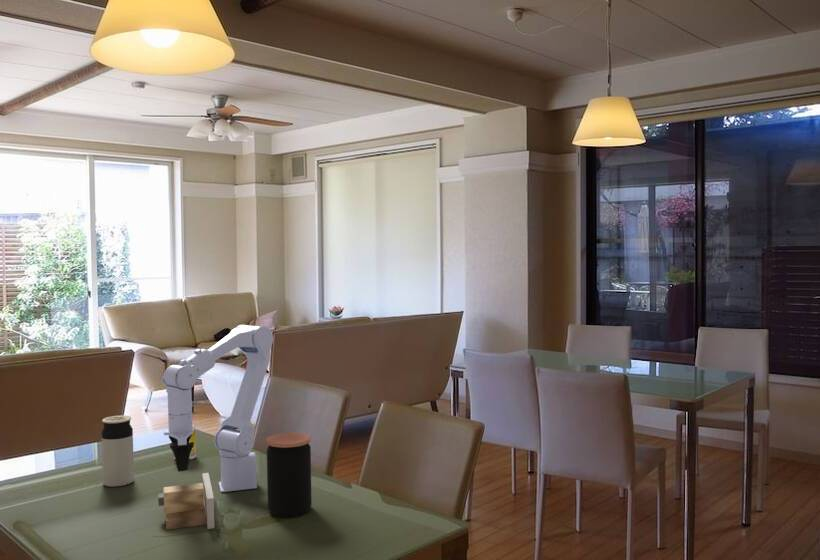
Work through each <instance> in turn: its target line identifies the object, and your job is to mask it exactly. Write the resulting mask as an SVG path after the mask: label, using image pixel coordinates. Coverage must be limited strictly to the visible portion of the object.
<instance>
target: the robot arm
mask: <svg viewBox="0 0 820 560" xmlns="http://www.w3.org/2000/svg"><path fill="white" fill-rule="evenodd" d="M274 340H275V339H274V335H273V334H272V331H271V329H270V328H269V327H267V326H266V325H249V324H243V323H242V324H239V325H237V326H236V327H234V328H232V329H231V330H230V332H229V333H228V334H227V335H225V336H224V337H223V338H222V339H220V340H219V341H217V342H216V343H215V344H214V345H212V346H211V347H210V348H209V349H205V348H201V349H200V348H196V349H195V350H194V351H193V353H192V354H191V355H190V356H188V357H186V358H185V359H181V360H180V361H179V363H177V364H171V365H169V366H168V367H167V368H166V369H165V370H164V372H163V376H161V382H162V384H163V385H164V386H165V388H166V393H167V414H168V416H167V417H168V418H167V419H168V430H164V431H163V435H164V436H168V438H169V440H170V442H171V443H169V447H170V449H171V451H172V453H174V454H173V457H174V456H175V459H174V460H175V464H176V465H175V466H176V468H177V472H187V471H188V468H189V463H190V460H189V457H190V453H191V450H192V448H193V446H194V442H190V443H189V441H190V438H191V436H192V433H193V432H194V430H193V425H194V424H193V405H192V404H193V401H192V395H193V394H192V388H193V387H194V386H195V384H196V382H197V379H199V378H200V377H201V376H202V375H204V374H205V373H207V372H208V371H210V370H211V369H213V368H214V367H215V365H216V361H217V360H219V359H221V358H222V357H223V356H225V355H228V353H230V352H232V351H234V350H236V349H237V348H238V349H239V350H240V352H242V353H243V354H244V355H245V357H246V359H247V365H246V367H245V371H244V375H243V376H242V380H241V383H240V386H239V389H238V393H237V394H236V398H235V401H234V405H233V408H232V411H231V414H230V416H228V417H227V418H226V419H225V420H223V421H222V423H221V426H220V427H219V429H218V430H217V432H216V433H215V435H214V439H213V443H214V446H215V448H216V449H217V450H218V454H220V481H218V486H219V490H220V493H227V492H233V491H234V492H235V491H244V490H252V489H253V490H254V489H257V488H258V473H257V456H256V455H257V454H256V452H253V451H252V450H253V446H254V441H255V439H254V438H255V437H254V435H255V431H256V429H255V427H254V425H253V424H252V421H251V420H252V417H253V415H254V414H253V413H254V412H255V407H256V404H257V401H258V399H259V394H260V392H261V388H262V386H263V383H264V380H265V375H266V374H267V370H268V367H269V365H270V362H271V361H270V360H271V349H272V346H273V343H274ZM192 424H193V425H192Z"/></svg>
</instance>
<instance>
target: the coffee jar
mask: <svg viewBox="0 0 820 560" xmlns="http://www.w3.org/2000/svg"><path fill="white" fill-rule="evenodd" d="M310 442H311V435H310V434H308V433H307V434H306V433H303V432H282V433H276V434H273V435H270V436H268V437H266V444H267V445H268V446H267V449H266V477H267V478H266V480H267V481H266V484H267V489H266V490H267V509H268V511H269V513H270V514H271V515H272V516H275V517H278V518H287V519H288V518H296V517H299V516H303V515H305V514H307V513H309V511H310V509H311V507H312V457H311V456H312V455H311V453H312V452H311V451H312V450H311V449H312V448H311V445H310Z"/></svg>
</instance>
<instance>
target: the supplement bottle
mask: <svg viewBox="0 0 820 560" xmlns="http://www.w3.org/2000/svg"><path fill="white" fill-rule="evenodd" d="M192 425H193V430H194V432H193V433H192V436H191V438H190V441H189V443H190V442H194V446H193V448H192V450H191V453H190V457H189V459H191V460H193V459H195V458H196V457H197V456H196V455H197V443H196V442H197V440H196V439H197V437H196V425H195V424H193V423H192ZM172 453H173V452H172ZM173 459H174V460H175V456H174V453H173Z"/></svg>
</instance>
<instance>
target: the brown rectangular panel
mask: <svg viewBox="0 0 820 560" xmlns="http://www.w3.org/2000/svg"><path fill="white" fill-rule="evenodd" d="M203 525H204V526H206V525H207V514H206V508H205V502H204V509H201V510H193V511H185V512H177V513H169V514H165V527H166V528H165V530H166V531H167V530H173V529H182V528H189V527H197V526H203Z"/></svg>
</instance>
